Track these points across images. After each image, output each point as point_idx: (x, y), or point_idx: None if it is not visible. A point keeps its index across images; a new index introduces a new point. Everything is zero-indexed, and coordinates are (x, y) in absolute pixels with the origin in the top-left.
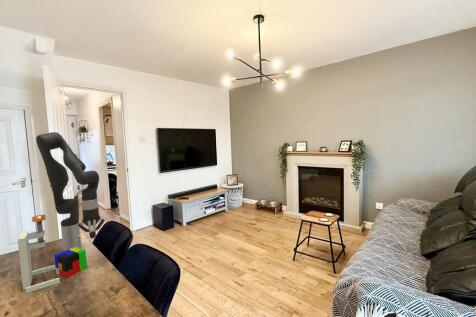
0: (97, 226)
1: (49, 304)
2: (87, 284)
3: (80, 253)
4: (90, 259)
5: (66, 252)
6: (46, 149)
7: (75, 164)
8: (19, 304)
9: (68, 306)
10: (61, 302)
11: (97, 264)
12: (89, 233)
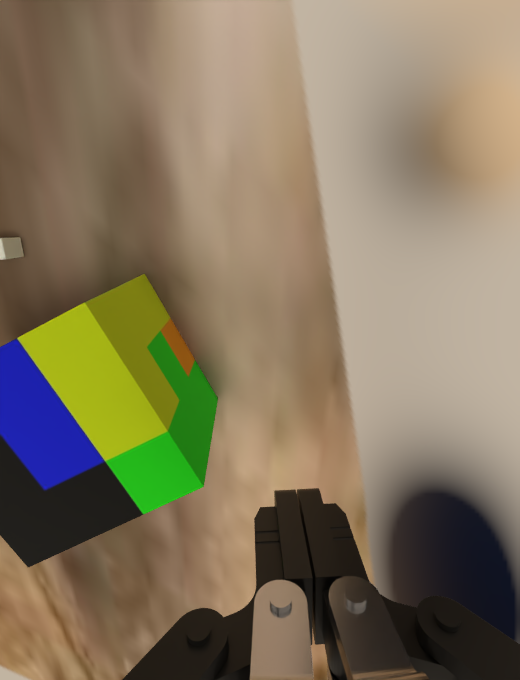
0: (460, 668)
1: (65, 653)
2: (218, 591)
3: (157, 501)
4: (243, 252)
5: (10, 416)
6: None
7: None
8: None
9: None
10: (114, 665)
11: (285, 385)
12: (257, 578)
